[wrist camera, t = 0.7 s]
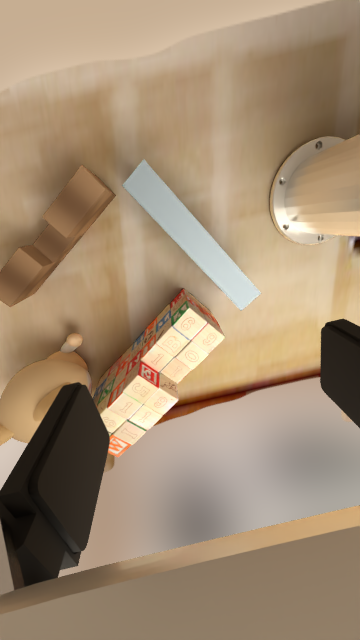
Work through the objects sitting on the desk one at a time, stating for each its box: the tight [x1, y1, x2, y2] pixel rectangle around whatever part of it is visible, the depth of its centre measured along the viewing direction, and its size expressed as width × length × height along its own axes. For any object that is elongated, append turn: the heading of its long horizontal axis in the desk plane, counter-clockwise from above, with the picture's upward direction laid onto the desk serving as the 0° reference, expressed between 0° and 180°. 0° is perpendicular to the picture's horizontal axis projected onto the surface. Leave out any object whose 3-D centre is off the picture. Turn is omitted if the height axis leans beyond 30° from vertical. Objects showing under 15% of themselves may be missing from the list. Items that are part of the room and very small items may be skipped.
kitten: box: [0, 333, 92, 445], centre depth 32 cm, size 15×10×15 cm
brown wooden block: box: [0, 165, 116, 307], centre depth 29 cm, size 18×3×6 cm, turn 134°
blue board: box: [122, 159, 261, 311], centre depth 29 cm, size 18×3×9 cm, turn 44°
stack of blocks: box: [93, 289, 225, 457], centre depth 33 cm, size 21×6×12 cm, turn 138°
